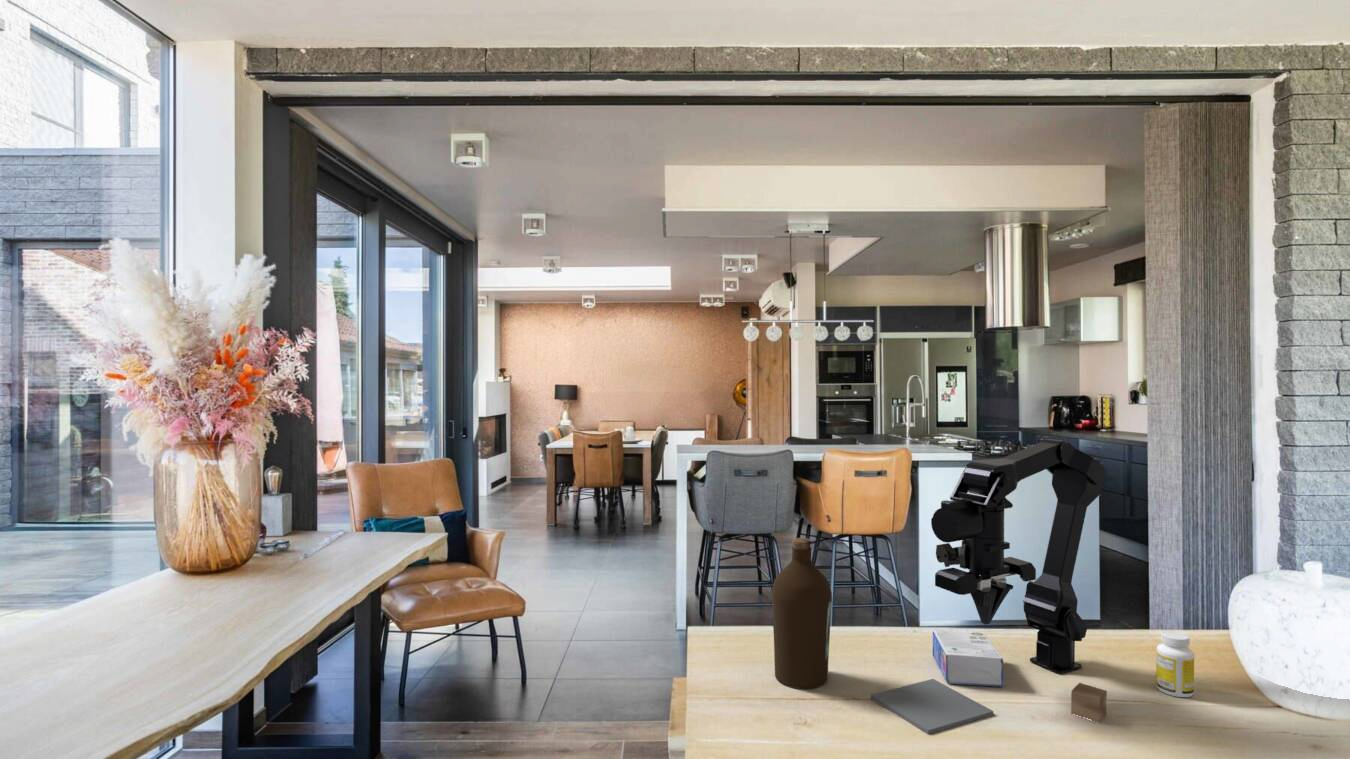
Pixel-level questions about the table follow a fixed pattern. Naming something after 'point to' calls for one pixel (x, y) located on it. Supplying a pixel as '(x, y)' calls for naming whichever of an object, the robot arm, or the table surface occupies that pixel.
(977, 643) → the ink cartridge box
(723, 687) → the table surface
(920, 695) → the mat
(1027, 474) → the robot arm
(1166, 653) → the supplement bottle
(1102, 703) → the walnut block
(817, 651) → the olive oil
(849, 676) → the table surface
